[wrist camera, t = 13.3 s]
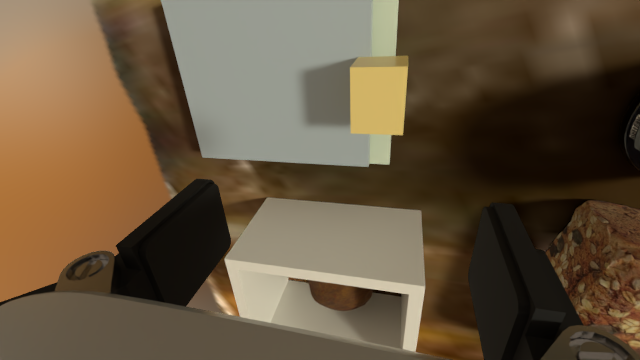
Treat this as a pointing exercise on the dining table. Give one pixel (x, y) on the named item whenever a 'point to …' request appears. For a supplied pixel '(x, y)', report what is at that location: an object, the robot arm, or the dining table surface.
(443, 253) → the dining table surface
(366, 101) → the lid
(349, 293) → the potato
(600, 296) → the bread
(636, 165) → the supplement container
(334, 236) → the open box
